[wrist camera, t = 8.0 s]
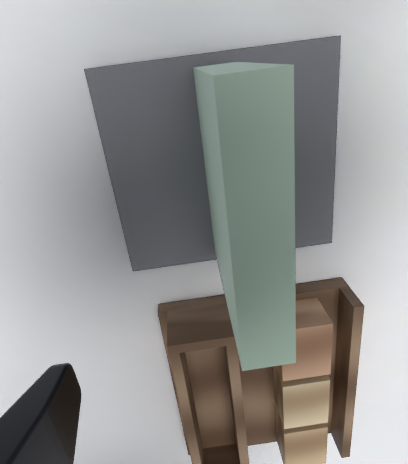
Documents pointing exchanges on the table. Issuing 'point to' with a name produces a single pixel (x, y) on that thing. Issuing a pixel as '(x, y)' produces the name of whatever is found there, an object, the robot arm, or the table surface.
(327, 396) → the offcut
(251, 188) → the green rectangular block
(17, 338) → the table surface
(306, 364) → the offcut
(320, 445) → the offcut
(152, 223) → the mat
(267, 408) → the rack
